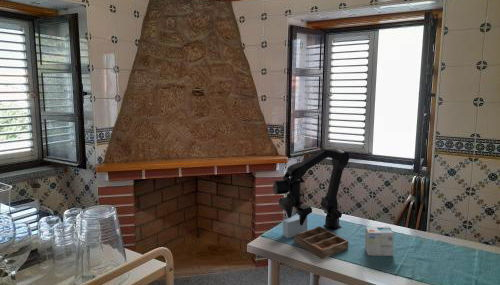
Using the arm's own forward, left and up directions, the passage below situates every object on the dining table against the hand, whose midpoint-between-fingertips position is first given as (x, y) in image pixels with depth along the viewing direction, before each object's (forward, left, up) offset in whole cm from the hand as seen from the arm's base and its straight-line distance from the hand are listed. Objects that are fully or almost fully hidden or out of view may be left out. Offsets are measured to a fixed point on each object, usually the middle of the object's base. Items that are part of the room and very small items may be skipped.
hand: (295, 222), depth 174 cm
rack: (-2, +16, -6) cm, 17 cm away
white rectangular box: (0, 0, -6) cm, 6 cm away
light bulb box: (-18, +35, -6) cm, 40 cm away
